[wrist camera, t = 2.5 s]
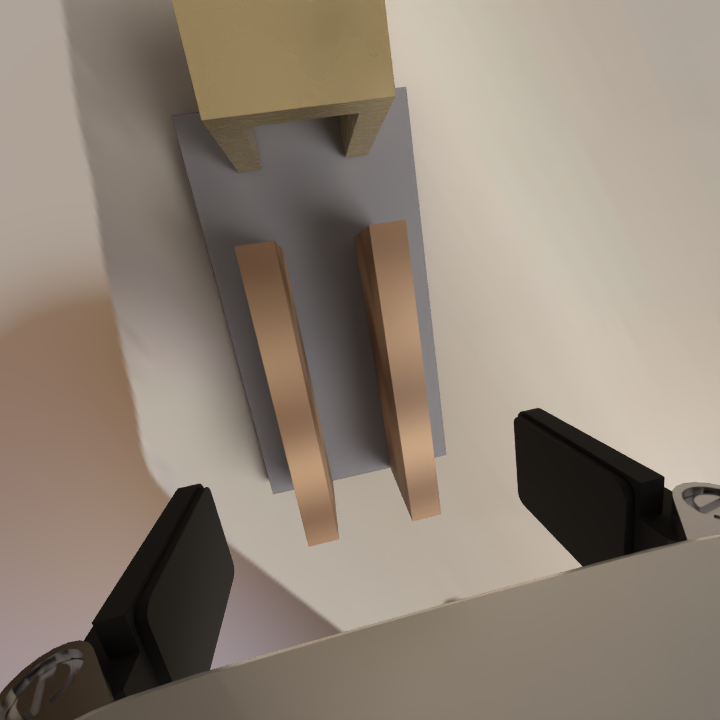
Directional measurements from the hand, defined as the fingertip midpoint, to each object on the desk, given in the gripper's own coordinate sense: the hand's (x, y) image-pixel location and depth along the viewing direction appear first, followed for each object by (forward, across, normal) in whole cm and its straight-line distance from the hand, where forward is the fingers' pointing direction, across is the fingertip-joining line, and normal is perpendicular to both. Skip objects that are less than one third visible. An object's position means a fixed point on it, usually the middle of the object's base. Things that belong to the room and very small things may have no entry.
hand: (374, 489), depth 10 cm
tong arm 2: (+11, +3, -1) cm, 12 cm away
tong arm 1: (+11, -3, -1) cm, 12 cm away
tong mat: (+13, 0, -4) cm, 13 cm away
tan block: (+11, 0, -14) cm, 18 cm away
